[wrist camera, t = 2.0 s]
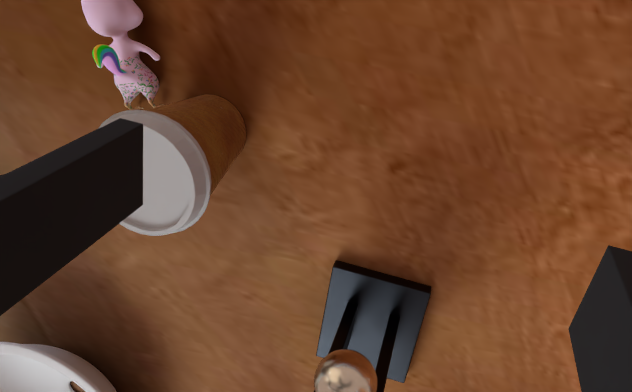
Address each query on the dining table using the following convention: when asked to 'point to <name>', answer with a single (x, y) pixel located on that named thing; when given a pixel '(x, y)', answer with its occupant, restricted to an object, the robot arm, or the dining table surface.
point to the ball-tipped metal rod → (345, 373)
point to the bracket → (373, 318)
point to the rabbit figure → (122, 48)
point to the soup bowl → (47, 370)
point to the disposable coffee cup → (183, 160)
